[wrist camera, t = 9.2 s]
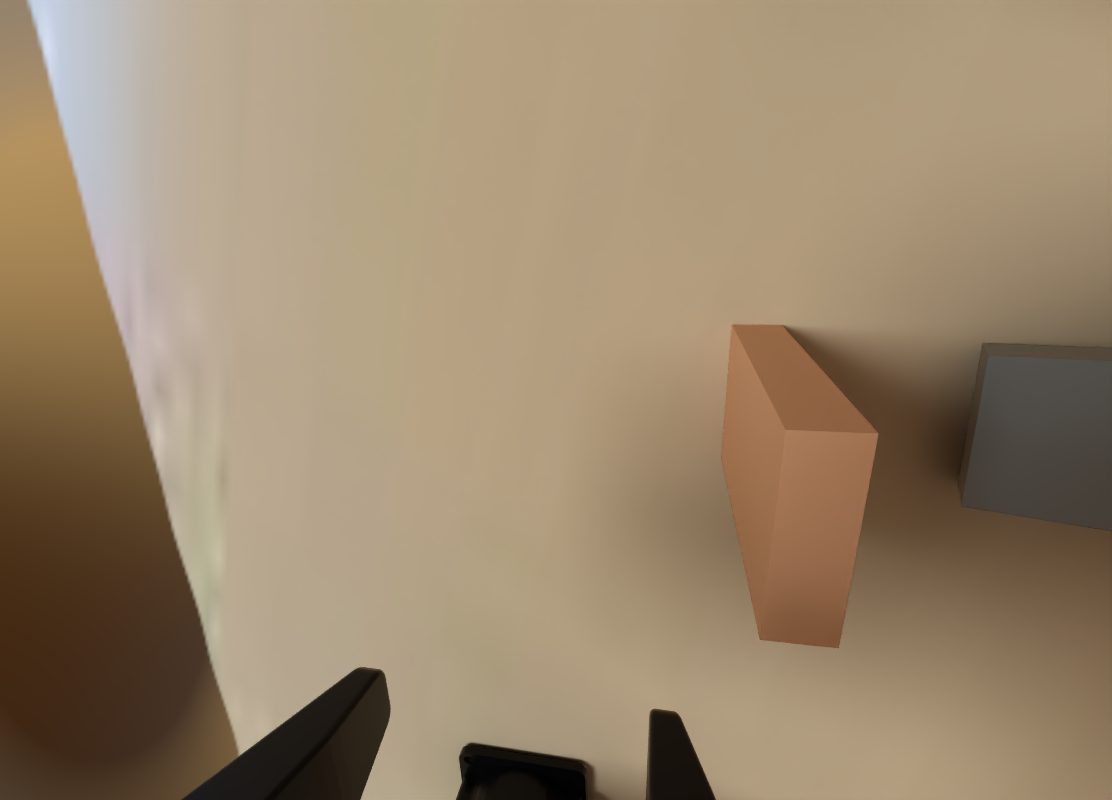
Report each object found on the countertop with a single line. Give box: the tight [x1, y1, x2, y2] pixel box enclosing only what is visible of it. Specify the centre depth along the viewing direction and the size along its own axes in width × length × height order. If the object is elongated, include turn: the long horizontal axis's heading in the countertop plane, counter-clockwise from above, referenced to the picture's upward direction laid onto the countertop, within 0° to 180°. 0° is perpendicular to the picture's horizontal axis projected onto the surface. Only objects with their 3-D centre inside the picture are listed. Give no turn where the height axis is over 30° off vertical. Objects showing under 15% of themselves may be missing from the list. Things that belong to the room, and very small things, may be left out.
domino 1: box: [721, 325, 879, 648], centre depth 15 cm, size 2×5×9 cm, turn 2°
